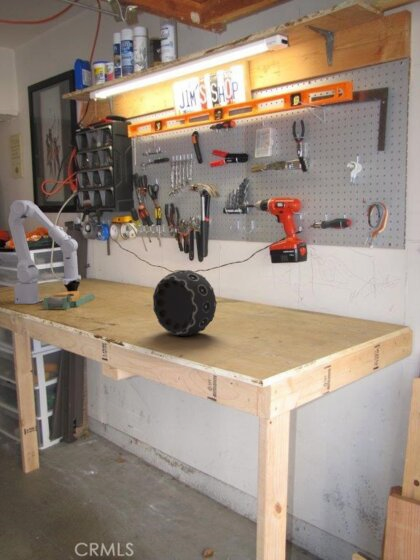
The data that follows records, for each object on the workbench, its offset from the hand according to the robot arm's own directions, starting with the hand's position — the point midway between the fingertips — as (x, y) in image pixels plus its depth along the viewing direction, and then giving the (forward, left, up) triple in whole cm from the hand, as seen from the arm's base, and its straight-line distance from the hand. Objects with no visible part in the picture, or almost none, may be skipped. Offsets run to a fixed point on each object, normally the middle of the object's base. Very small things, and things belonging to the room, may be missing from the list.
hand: (73, 298), depth 220 cm
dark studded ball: (+61, -53, -2) cm, 81 cm away
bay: (0, -5, -1) cm, 5 cm away
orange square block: (0, -6, -1) cm, 6 cm away
